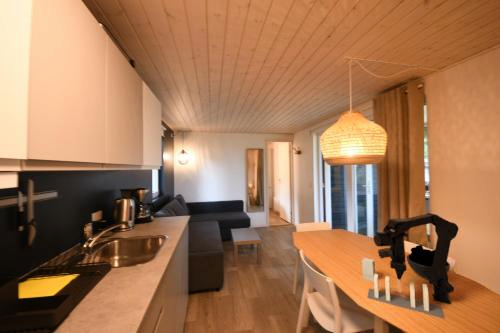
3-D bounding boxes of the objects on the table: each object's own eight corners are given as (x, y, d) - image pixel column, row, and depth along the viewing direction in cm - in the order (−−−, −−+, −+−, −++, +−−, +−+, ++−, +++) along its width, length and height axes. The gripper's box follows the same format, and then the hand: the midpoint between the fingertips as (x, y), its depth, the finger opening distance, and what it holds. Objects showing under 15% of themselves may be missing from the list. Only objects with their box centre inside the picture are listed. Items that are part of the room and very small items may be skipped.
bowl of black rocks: (399, 273, 134) (398, 243, 134) (420, 266, 141) (419, 238, 142) (436, 289, 116) (435, 254, 116) (458, 281, 123) (457, 248, 123)
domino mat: (369, 289, 119) (369, 288, 119) (441, 307, 102) (441, 306, 102) (367, 298, 110) (367, 297, 110) (445, 319, 94) (445, 318, 94)
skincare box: (376, 279, 128) (375, 259, 128) (374, 283, 125) (373, 262, 125) (364, 276, 132) (363, 256, 132) (362, 279, 129) (361, 259, 129)
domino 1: (375, 292, 115) (374, 273, 115) (379, 293, 114) (378, 274, 114) (374, 297, 111) (373, 277, 111) (378, 298, 110) (377, 278, 110)
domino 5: (423, 304, 104) (422, 283, 104) (427, 305, 103) (426, 284, 103) (424, 310, 99) (423, 288, 100) (428, 311, 99) (427, 289, 99)
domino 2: (386, 295, 112) (385, 275, 112) (390, 296, 111) (389, 276, 111) (386, 300, 108) (385, 280, 108) (390, 301, 107) (389, 281, 107)
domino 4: (410, 301, 106) (409, 280, 106) (414, 302, 105) (413, 281, 106) (411, 306, 102) (410, 285, 102) (415, 307, 101) (414, 286, 101)
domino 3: (397, 286, 109) (396, 267, 109) (401, 287, 108) (400, 267, 108) (397, 291, 105) (396, 271, 105) (401, 292, 104) (400, 272, 104)
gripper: (379, 237, 119) (381, 265, 119) (377, 248, 104) (378, 281, 104) (404, 240, 113) (406, 270, 113) (405, 252, 97) (407, 287, 97)
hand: (399, 276), depth 107 cm, fingers closed on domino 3, 5 cm apart
